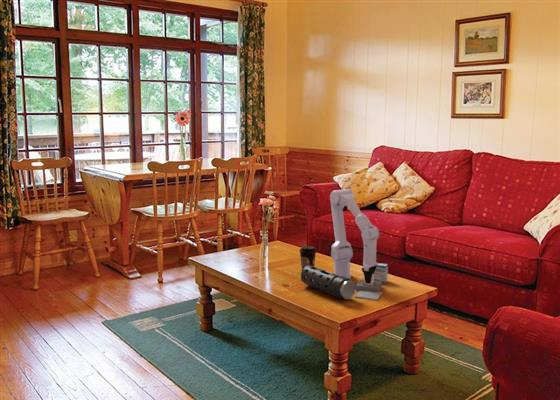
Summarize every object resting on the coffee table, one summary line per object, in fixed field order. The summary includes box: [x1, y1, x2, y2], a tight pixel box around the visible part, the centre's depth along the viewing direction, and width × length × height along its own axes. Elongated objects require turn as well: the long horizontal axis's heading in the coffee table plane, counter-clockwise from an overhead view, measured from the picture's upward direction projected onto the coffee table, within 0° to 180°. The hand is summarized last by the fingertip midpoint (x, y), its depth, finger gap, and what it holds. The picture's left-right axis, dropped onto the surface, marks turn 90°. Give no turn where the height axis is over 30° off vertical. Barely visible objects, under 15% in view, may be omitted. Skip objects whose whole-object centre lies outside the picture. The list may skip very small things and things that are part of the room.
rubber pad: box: [354, 290, 383, 301], centre depth 244 cm, size 10×10×1 cm
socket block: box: [355, 279, 383, 292], centre depth 253 cm, size 10×10×2 cm
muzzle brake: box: [300, 265, 356, 301], centre depth 246 cm, size 10×28×10 cm, turn 36°
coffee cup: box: [299, 245, 317, 272], centre depth 279 cm, size 9×8×13 cm
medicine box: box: [374, 262, 389, 284], centre depth 264 cm, size 8×4×9 cm, turn 70°
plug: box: [363, 274, 374, 286], centre depth 253 cm, size 4×4×8 cm
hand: (369, 281), depth 253 cm, fingers closed on plug, 4 cm apart
